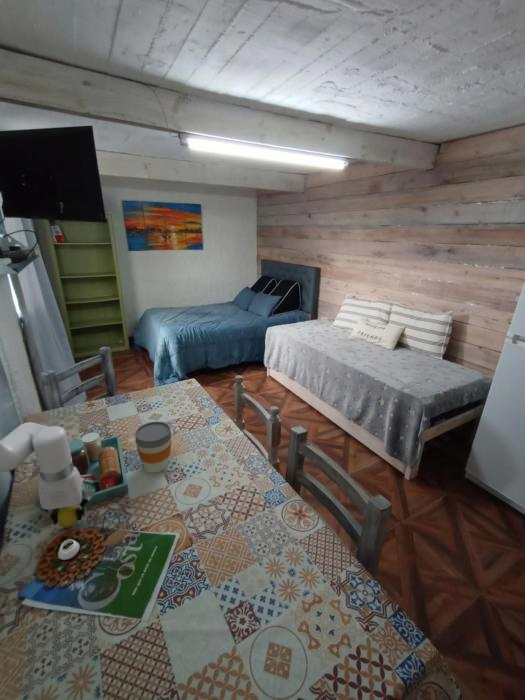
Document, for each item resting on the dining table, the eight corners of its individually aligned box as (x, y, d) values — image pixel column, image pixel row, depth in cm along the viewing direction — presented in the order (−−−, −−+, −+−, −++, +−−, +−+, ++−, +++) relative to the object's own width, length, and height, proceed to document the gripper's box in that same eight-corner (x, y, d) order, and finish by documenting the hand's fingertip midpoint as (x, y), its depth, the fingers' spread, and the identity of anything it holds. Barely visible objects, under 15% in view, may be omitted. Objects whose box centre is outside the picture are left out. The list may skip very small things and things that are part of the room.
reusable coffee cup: (131, 471, 115) (126, 437, 110) (152, 450, 127) (148, 418, 121) (161, 479, 112) (157, 445, 107) (180, 457, 123) (177, 424, 118)
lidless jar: (77, 540, 90) (57, 550, 87) (75, 532, 89) (54, 542, 86) (81, 553, 86) (60, 564, 83) (79, 545, 85) (58, 556, 82)
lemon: (85, 522, 95) (81, 502, 92) (66, 536, 91) (61, 515, 88) (74, 514, 98) (70, 494, 95) (56, 527, 93) (50, 507, 90)
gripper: (14, 484, 81) (30, 535, 88) (88, 474, 85) (98, 523, 92) (27, 464, 88) (41, 513, 94) (94, 456, 92) (103, 503, 99)
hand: (69, 517), depth 93 cm, fingers closed on lemon, 5 cm apart
